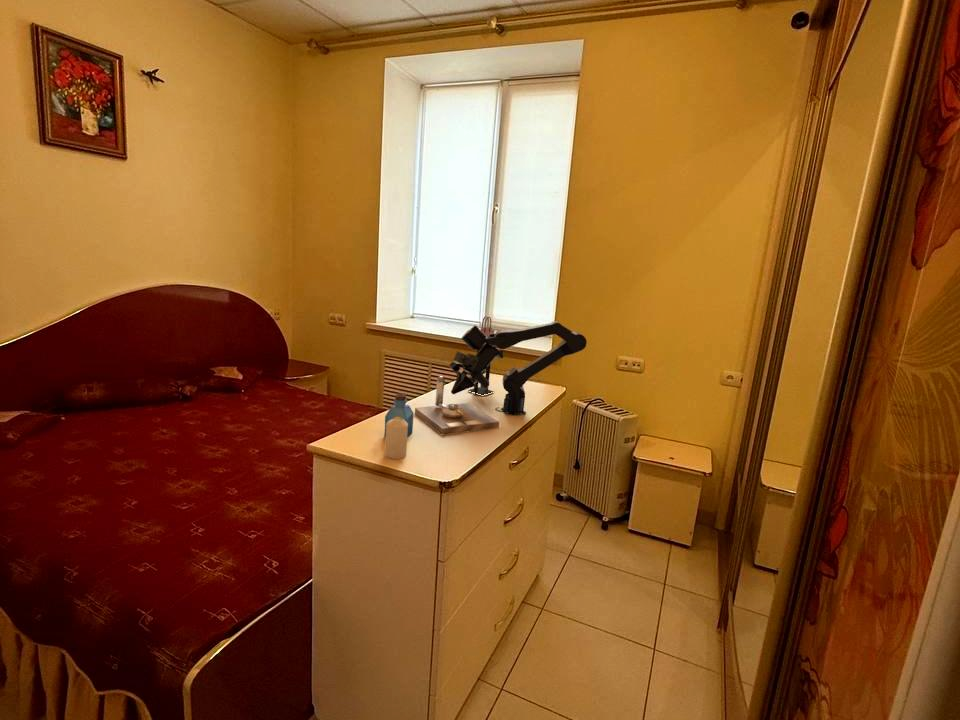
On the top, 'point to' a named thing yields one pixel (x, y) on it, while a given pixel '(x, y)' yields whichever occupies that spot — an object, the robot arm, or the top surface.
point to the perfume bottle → (400, 412)
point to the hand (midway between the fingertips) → (452, 393)
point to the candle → (396, 438)
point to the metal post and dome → (449, 410)
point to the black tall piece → (480, 390)
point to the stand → (456, 419)
